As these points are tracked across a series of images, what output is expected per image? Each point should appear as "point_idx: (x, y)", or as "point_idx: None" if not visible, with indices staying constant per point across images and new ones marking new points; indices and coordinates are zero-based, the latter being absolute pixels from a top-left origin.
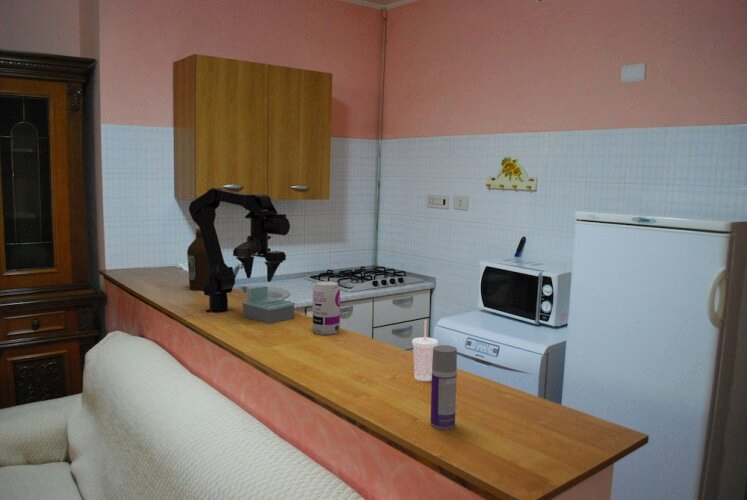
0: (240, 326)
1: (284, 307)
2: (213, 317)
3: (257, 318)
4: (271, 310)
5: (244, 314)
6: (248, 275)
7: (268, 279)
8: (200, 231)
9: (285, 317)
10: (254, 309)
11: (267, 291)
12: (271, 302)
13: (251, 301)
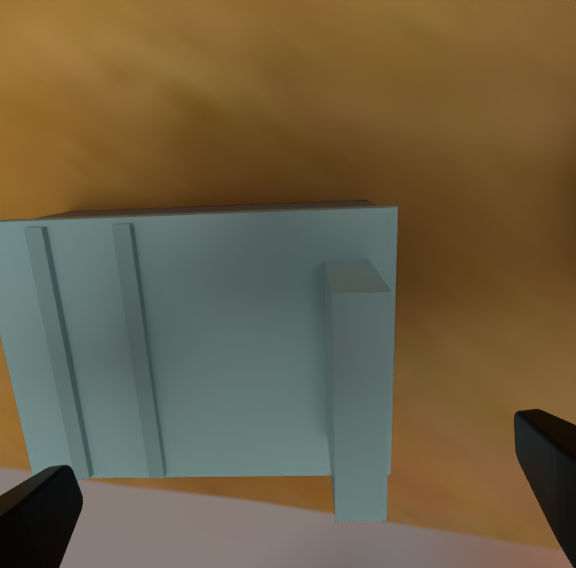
0: (179, 41)
1: None
2: (561, 46)
3: (197, 208)
4: None
5: (353, 203)
6: (538, 449)
7: (14, 487)
8: None
9: None
10: None
11: (331, 480)
12: (129, 346)
13: (316, 262)
